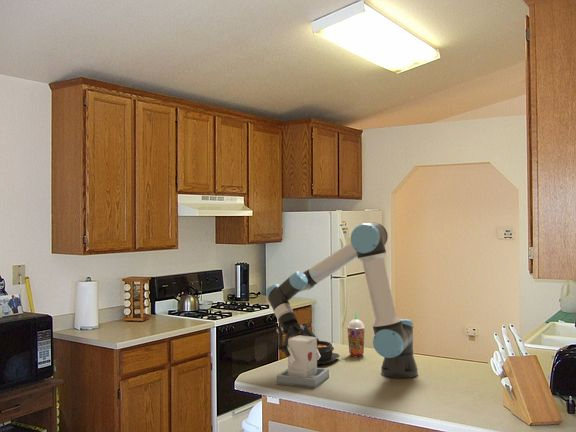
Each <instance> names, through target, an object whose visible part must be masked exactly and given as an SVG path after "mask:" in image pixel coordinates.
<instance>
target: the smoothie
mask: <svg viewBox="0 0 576 432" xmlns="http://www.w3.org/2000/svg"><path fill="white" fill-rule="evenodd" d="M354 317H355V318H354V319H352V320H351V321H349V323H348V325H347V327H346V328H347V339H348V341H347V342H348V352H349V353H348V354H349V355H350V357H353V358H354V357H355V358H359V357H362V356H364V349H365V333H366V332H365V328H366V327H365V324H364V322H363V321H361V320H360V319H358V318H357V317H358V316H357V313H355V314H354Z"/></svg>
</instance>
